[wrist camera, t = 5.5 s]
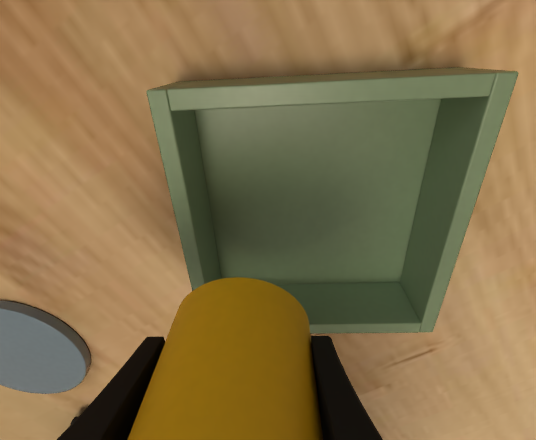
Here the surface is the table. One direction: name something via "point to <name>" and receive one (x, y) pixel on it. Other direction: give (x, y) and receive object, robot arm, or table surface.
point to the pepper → (234, 369)
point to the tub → (332, 185)
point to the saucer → (39, 351)
